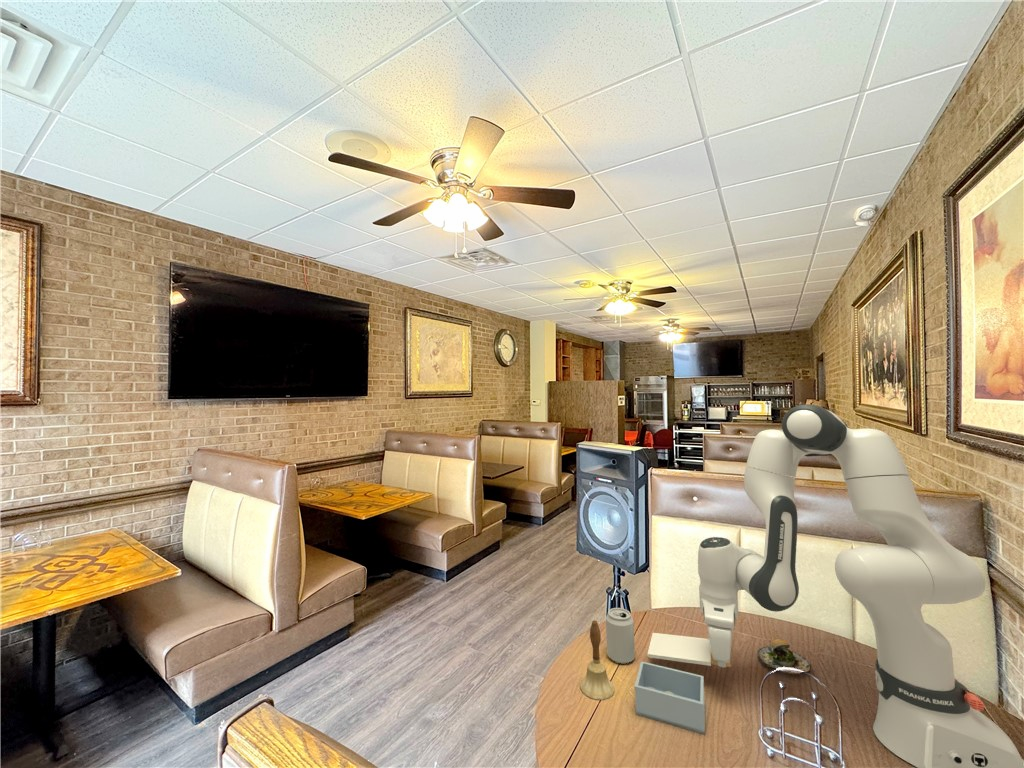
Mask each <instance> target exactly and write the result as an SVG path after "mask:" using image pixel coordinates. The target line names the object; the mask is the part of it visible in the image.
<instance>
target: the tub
mask: <svg viewBox="0 0 1024 768" xmlns="http://www.w3.org/2000/svg"><path fill="white" fill-rule="evenodd" d="M704 676H705V675H700V674H697V673H692V672H687V671H683V670H680V669H675V668H671V667H667V666H662V665H659V664H655V663H654V664H653V663H650V662H645V661H643V660H642V661H641V662H640V664H639V669H638V673H637V677H636V680H635V685H634V698H635V700H634V701H635V715H637V716H640V717H644V718H647V719H650V720H654V721H658V722H660V723H664V724H667V725H670V726H674V727H678V728H681V729H684V730H688V731H691V732H695V733H698V734H702V735H706V700H705V698H706V697H705V681H704V679H705V678H704Z"/></svg>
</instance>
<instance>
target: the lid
mask: <svg viewBox="0 0 1024 768" xmlns="http://www.w3.org/2000/svg"><path fill="white" fill-rule="evenodd" d="M647 658H649V659H650V658H651V659H657V660H665V661H666V660H667V661H672V662H680V663H687V664H695V665H701V666H702V665H703V666H709V667H711V666H713V665H715V666H718V663H717V661H716V660H714V659H713V657H712V653H711V647H710V640H709V638H704V637H703V638H702V637H694V636H687V635H686V636H685V635H675V634H668V633H658V632H652V634H651V639H650V643H649V647H648V650H647ZM726 667H729V668H731V667H732V664H731V660H730V662H729V663H726Z"/></svg>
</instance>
